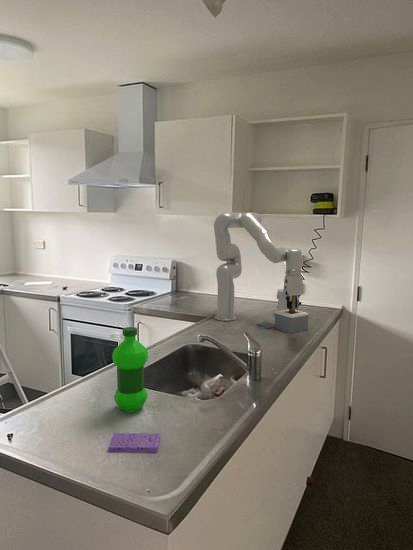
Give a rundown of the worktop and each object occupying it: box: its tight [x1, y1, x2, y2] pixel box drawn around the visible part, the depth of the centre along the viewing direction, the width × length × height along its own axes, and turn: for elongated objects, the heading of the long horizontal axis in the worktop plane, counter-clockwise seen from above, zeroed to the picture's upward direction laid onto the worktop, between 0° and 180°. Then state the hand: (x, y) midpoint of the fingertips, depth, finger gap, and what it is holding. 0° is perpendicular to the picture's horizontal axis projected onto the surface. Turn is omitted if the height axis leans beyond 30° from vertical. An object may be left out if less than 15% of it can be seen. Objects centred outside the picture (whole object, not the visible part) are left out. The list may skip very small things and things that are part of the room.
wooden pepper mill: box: [289, 295, 296, 314], centre depth 217 cm, size 4×4×14 cm
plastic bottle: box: [111, 326, 149, 413], centre depth 126 cm, size 10×10×25 cm
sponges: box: [108, 432, 161, 453], centre depth 108 cm, size 7×13×2 cm, turn 90°
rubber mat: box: [255, 321, 275, 330], centre depth 225 cm, size 9×9×1 cm
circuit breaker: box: [275, 288, 302, 311], centre depth 247 cm, size 8×14×15 cm, turn 78°
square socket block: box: [274, 309, 309, 334], centre depth 218 cm, size 12×12×9 cm
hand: (291, 307), depth 217 cm, fingers closed on wooden pepper mill, 3 cm apart
